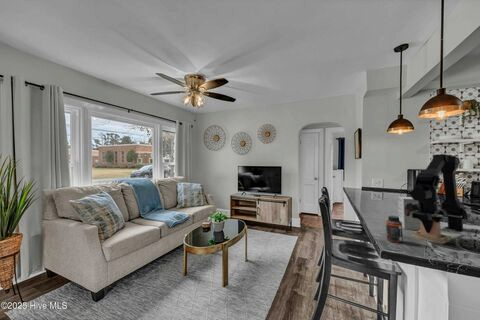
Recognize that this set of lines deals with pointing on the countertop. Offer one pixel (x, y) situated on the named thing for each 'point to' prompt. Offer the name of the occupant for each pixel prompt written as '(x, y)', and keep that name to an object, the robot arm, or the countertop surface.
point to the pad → (451, 234)
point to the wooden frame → (437, 240)
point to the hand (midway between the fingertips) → (430, 232)
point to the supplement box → (407, 214)
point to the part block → (432, 230)
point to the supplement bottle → (394, 229)
